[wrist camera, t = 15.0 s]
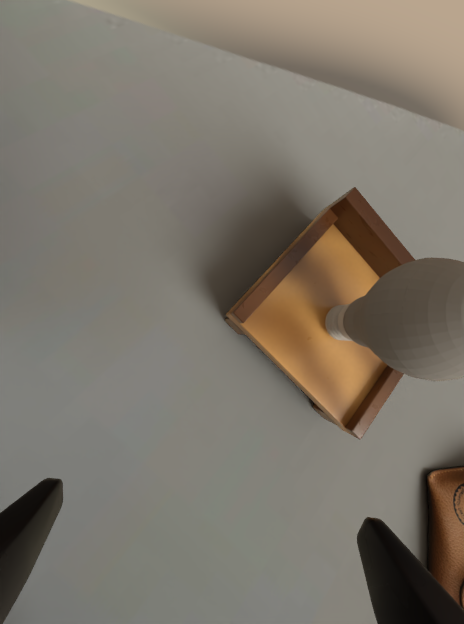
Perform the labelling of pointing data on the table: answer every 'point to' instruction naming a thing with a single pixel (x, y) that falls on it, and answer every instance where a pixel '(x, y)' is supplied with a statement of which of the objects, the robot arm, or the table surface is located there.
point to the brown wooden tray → (325, 311)
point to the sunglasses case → (447, 529)
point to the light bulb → (410, 319)
